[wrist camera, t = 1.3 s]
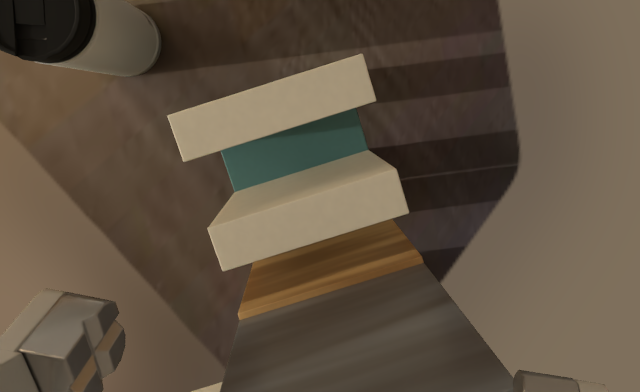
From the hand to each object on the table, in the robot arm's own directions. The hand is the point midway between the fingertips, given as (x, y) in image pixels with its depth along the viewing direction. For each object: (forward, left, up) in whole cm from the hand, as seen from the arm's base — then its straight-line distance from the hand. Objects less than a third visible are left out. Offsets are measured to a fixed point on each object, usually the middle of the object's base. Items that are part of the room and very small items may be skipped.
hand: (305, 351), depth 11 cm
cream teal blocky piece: (-2, 0, -43) cm, 43 cm away
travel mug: (-15, -12, -44) cm, 48 cm away
